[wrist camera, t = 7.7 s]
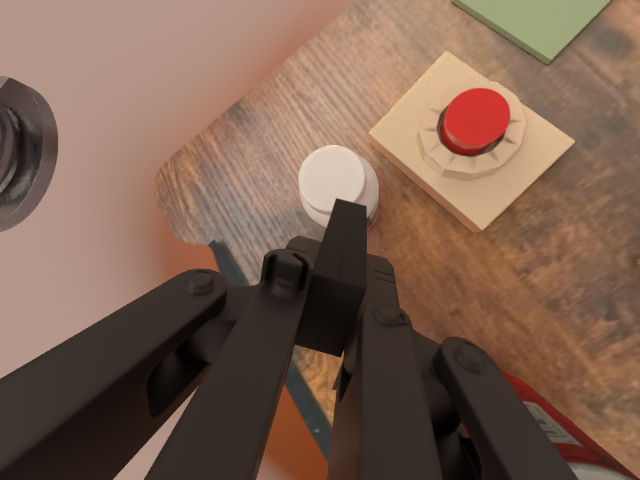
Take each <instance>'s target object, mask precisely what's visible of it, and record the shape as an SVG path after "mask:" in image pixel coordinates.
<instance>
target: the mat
mask: <svg viewBox="0 0 640 480" xmlns="http://www.w3.org/2000/svg"><path fill="white" fill-rule="evenodd" d="M611 1H612V0H452V3H454V4H455V5H457V6H458V7H460V8H461V9H463V10H464V11H466V12H467V13H469V14H470V15H472V16H473V17H475V18H476V19H478V20H480V21H481V22H483V23H484V24H486V25H487V26H489V27H490V28H492V29H493V30H495V31H496V32H498V33H499V34H501V35H502V36H504V37H505V38H507V39H508V40H510V41H512V42H513V43H515V44H516V45H518V46H519V47H521V48H522V49H524V50H525V51H527V52H528V53H530V54H531V55H533V56H534V57H536V58H537V59H539V60H541V61H542V62H544V63H545V64H547V65H548V64H549V63H550V62H551V61H552V60H553V59H554V58H555V57H556V56H557V55H558V54H559V53H560V52H561V51H562V50H563V49H564V48H565V47H566V46H567V45H568V44H569V43H570V42H571V41H572V40H573V39H574V38H575V37H576V36H577V35H578V34H579V33H580V32H581V31H582V30H583V29H584V28H585V27H586V26H587V25H588V24H589V23H590V22H591V21H592V20H593V19H594V18H595V17H596V16H597V15H598V14H599V13H600V12H601V11H602V10H603V9H604V8H605V7H606V6H607V5H608V4H609V3H610V2H611Z"/></svg>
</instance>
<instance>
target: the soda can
mask: <svg viewBox="0 0 640 480" xmlns="http://www.w3.org/2000/svg"><path fill="white" fill-rule="evenodd" d="M502 373H503V372H502ZM503 375H504V376H505V378H506V379H507V380H508V382H509V383H510V385H511V386H512V387H513V389H514V390H515V391H516V393H517V394H518V396H519V397H520V398H521V400H522V401H523V403H524V404H525V405H526V407H527V408H528V410H529V411H530V412H531V414H532V415H533V416H534V418H535V419H536V421H537V422H538V423H539V425H540V426H541V428H542V429H543V430H544V432H545V433H546V435H547V436H548V437H549V439H550V440H551V442H552V443H553V444H554V446H555V447H556V448H557V450H558V451H559V453H560V454H561V455H562V457H563V458H564V460H565V461H566V462H567V464H568V465H569V467H570V468H571V469H572V471H573V472H574V473H575V475H576V476H577V478H578V479H579V480H640V479H639V478H638V477H636V476H635V475H634V474H633V473H631V472H630V471H629V470H627V469H626V468H625V467H624V466H623V465H622V464H620V463H619V462H618V461H617V460H616V459H615V458H613V457H612V456H611V455H610V454H609V453H608V452H606V451H605V450H604V449H603V448H602V447H601V446H599V445H598V444H597V443H596V442H595V441H593V440H592V439H591V438H590V437H589V436H587V435H586V434H585V433H584V432H583V431H582V430H580V429H579V428H578V427H577V426H576V425H575V424H574V423H573V422H572V421H570V420H569V419H568V418H566V417H565V416H564V415H563V414H562V413H560V412H559V411H558V410H557V409H556V408H554V407H553V406H552V405H551V404H550V403H548V402H547V401H546V400H545V399H544V398H542V397H541V396H540V395H539V394H538V393H537V392H535V391H534V390H533V389H532V388H531V387H530V386H528V385H527V384H526V383H524V382H523V381H521V380H519V379H518V378H515V377H513V376H511V375H509V374H507V373H503ZM461 425H462V427H463V429H464V431H465V433H466V434H467V435H468V433H467V431H466V429H465V427H464V425H463V423H462V424H461ZM468 436H469V435H468Z"/></svg>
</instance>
